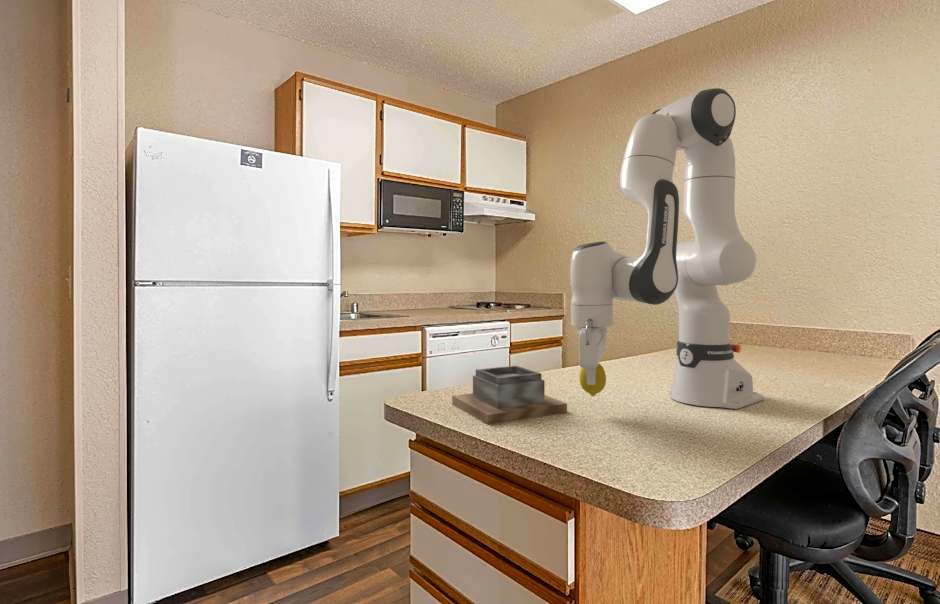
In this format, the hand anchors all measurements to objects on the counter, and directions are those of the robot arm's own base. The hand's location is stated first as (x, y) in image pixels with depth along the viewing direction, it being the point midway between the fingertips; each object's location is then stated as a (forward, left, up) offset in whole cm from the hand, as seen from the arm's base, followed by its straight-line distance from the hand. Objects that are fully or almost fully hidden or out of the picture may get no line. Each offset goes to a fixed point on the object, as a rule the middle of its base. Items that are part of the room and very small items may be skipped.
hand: (593, 380), depth 108 cm
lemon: (0, 0, -4) cm, 4 cm away
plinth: (+14, -13, -8) cm, 20 cm away
